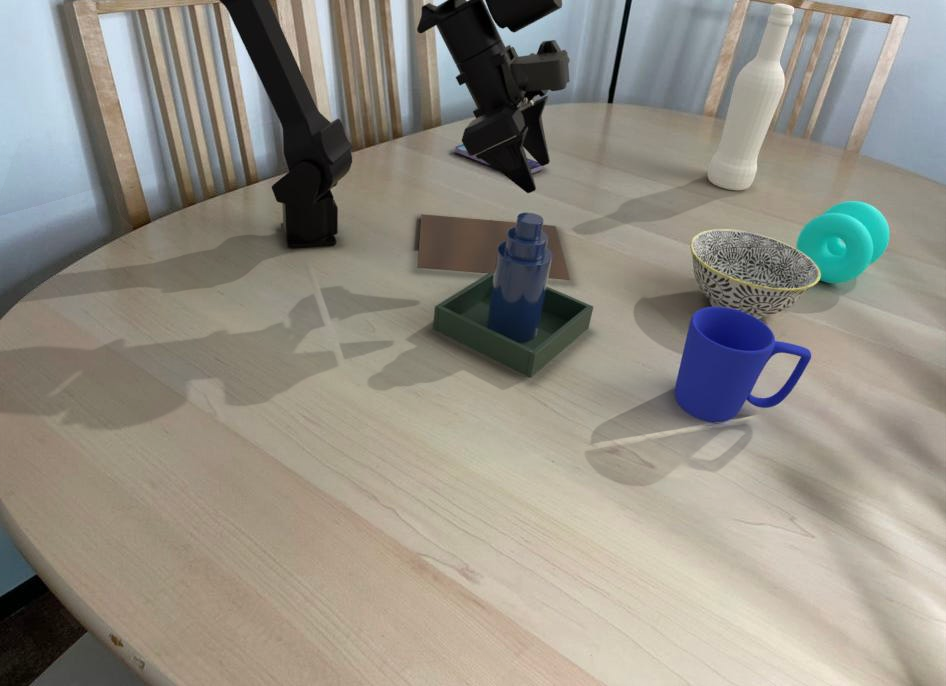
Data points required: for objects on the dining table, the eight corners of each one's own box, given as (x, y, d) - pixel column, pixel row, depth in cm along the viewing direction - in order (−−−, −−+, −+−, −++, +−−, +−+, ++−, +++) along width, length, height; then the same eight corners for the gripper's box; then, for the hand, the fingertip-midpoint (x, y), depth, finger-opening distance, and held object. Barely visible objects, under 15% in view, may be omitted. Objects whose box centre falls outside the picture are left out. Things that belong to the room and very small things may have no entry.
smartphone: (477, 139, 137) (545, 164, 130) (476, 144, 137) (544, 169, 130) (452, 147, 131) (521, 173, 125) (451, 152, 132) (520, 178, 125)
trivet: (417, 271, 96) (417, 267, 96) (421, 217, 109) (421, 214, 109) (569, 283, 98) (570, 279, 97) (555, 229, 111) (555, 225, 111)
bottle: (755, 183, 136) (816, 7, 119) (744, 196, 130) (805, 12, 113) (713, 170, 139) (766, -3, 122) (699, 182, 133) (753, 2, 116)
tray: (432, 332, 85) (434, 306, 83) (496, 290, 94) (500, 265, 92) (529, 381, 79) (535, 354, 77) (587, 331, 89) (593, 306, 86)
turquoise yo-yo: (783, 268, 108) (808, 205, 103) (809, 249, 115) (834, 189, 109) (851, 297, 103) (881, 232, 97) (875, 275, 110) (904, 213, 104)
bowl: (714, 265, 107) (730, 217, 102) (819, 315, 98) (842, 264, 94) (652, 299, 97) (666, 247, 92) (763, 357, 88) (785, 303, 84)
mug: (786, 447, 75) (823, 368, 69) (666, 422, 76) (693, 342, 70) (775, 398, 81) (808, 322, 76) (665, 375, 83) (689, 299, 77)
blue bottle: (497, 345, 83) (515, 232, 75) (479, 316, 88) (494, 207, 80) (546, 339, 85) (568, 229, 77) (526, 311, 90) (544, 204, 82)
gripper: (526, 34, 71) (592, 179, 77) (557, 3, 86) (610, 126, 92) (430, 85, 76) (499, 217, 82) (475, 47, 91) (531, 161, 97)
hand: (539, 177), depth 88 cm, fingers open, 9 cm apart
